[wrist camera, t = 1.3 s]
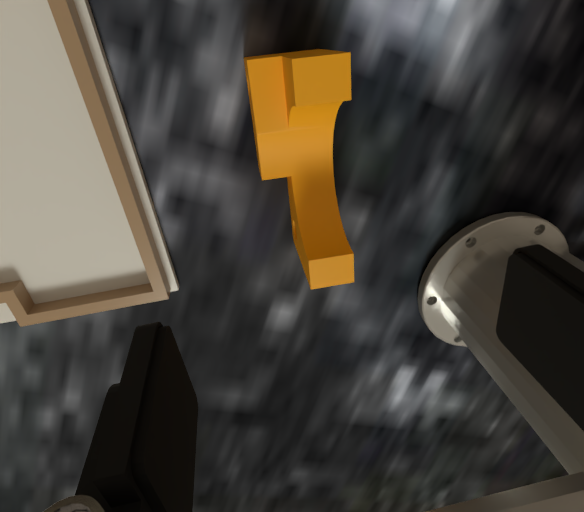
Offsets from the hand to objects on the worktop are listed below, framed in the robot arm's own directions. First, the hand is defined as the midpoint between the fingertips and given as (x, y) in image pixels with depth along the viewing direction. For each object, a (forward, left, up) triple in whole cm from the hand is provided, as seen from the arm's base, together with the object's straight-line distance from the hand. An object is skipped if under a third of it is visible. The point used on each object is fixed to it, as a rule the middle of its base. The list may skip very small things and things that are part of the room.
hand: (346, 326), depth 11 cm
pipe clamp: (-1, 0, -17) cm, 17 cm away
